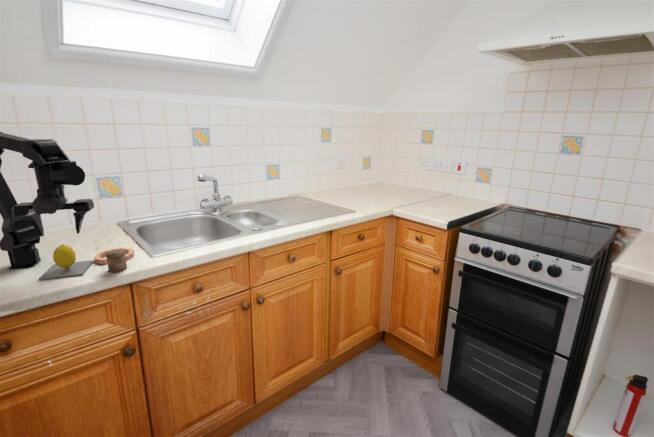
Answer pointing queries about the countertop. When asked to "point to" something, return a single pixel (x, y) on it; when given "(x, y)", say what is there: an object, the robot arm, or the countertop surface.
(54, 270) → the slate coaster
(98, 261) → the c ring
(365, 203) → the countertop surface
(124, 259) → the walnut salt pot
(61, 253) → the lemon
